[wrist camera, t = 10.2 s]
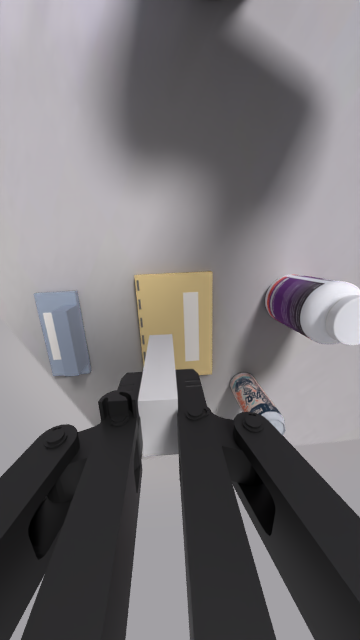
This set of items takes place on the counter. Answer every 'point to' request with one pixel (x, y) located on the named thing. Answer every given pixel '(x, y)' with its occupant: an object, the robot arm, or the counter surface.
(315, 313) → the pill bottle
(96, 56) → the counter surface
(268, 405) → the beer can
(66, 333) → the stub
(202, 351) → the tan notebook
